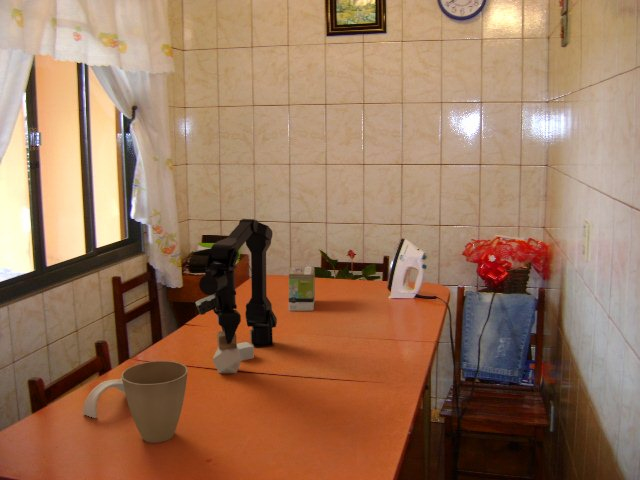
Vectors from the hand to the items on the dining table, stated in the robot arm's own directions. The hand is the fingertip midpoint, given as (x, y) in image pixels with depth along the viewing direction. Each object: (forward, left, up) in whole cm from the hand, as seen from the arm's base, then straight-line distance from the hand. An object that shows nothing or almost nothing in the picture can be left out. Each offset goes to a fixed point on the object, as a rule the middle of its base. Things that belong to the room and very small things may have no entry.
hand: (226, 338), depth 203 cm
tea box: (-37, -64, -10) cm, 75 cm away
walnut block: (0, 0, -2) cm, 2 cm away
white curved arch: (+29, +15, -10) cm, 34 cm away
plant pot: (+21, +38, -10) cm, 45 cm away
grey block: (-6, -11, -10) cm, 16 cm away
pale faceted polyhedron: (0, 0, -10) cm, 10 cm away
